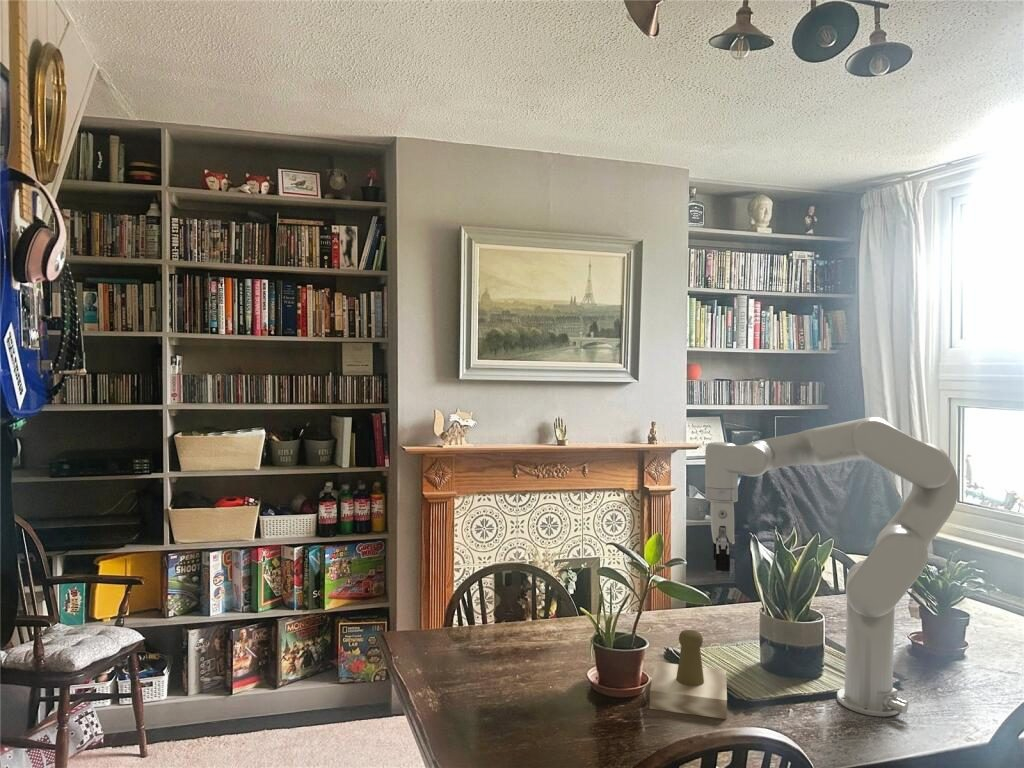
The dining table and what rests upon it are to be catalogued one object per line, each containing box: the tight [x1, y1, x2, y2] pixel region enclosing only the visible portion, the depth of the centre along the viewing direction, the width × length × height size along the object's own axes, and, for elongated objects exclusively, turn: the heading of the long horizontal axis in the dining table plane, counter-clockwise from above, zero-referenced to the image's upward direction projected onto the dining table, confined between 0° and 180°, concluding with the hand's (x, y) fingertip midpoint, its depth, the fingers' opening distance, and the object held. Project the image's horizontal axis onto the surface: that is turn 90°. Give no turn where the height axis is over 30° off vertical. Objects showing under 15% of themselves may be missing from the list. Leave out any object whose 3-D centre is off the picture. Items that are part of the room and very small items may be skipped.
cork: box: [676, 629, 704, 686], centre depth 163 cm, size 6×6×11 cm
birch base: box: [649, 661, 728, 720], centre depth 163 cm, size 16×16×4 cm
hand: (721, 565), depth 175 cm, fingers open, 9 cm apart
